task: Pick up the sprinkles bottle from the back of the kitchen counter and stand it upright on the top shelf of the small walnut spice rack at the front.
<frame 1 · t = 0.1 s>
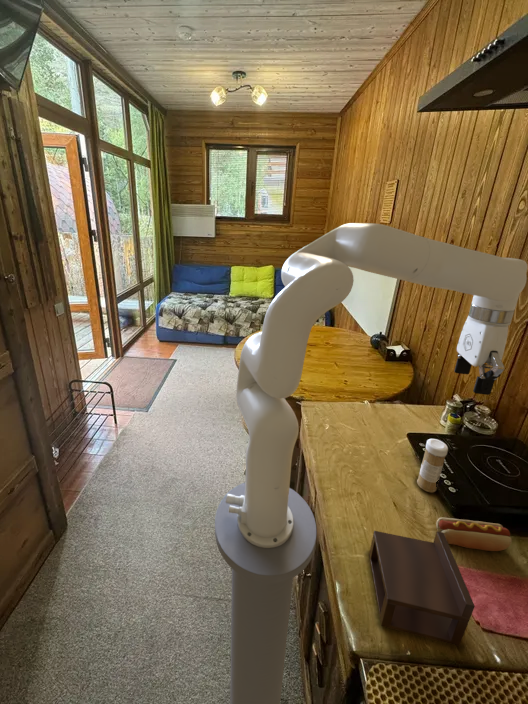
hand: (470, 382, 73), 30 cm above the kitchen counter, tool pointing down, fingers open, 9 cm apart
sprinkles bottle: (426, 486, 81), on the kitchen counter
spice rack: (408, 595, 57), on the kitchen counter
food: (469, 541, 67), on the kitchen counter
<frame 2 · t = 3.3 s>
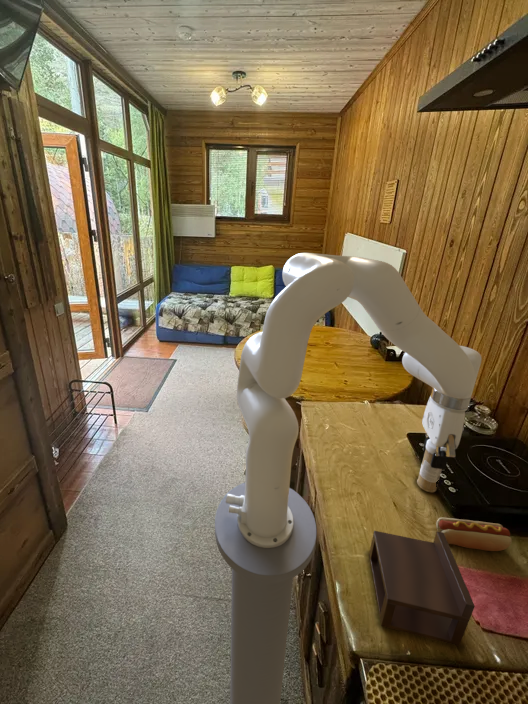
hand: (433, 459, 78), 9 cm above the kitchen counter, tool pointing down, fingers closed on sprinkles bottle, 4 cm apart
sprinkles bottle: (426, 486, 81), on the kitchen counter, touching gripper
everything else where it was.
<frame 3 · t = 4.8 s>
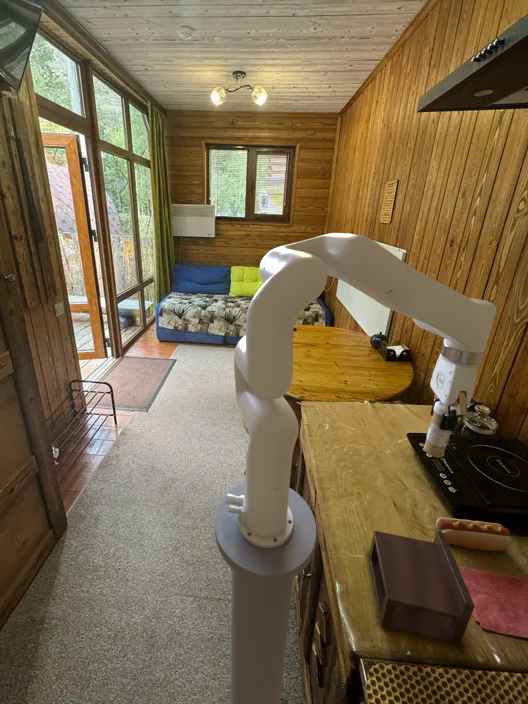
hand: (441, 422, 74), 20 cm above the kitchen counter, tool pointing down, fingers closed on sprinkles bottle, 4 cm apart
sprinkles bottle: (433, 452, 77), point 11 cm above the kitchen counter, touching gripper
everything else where it was.
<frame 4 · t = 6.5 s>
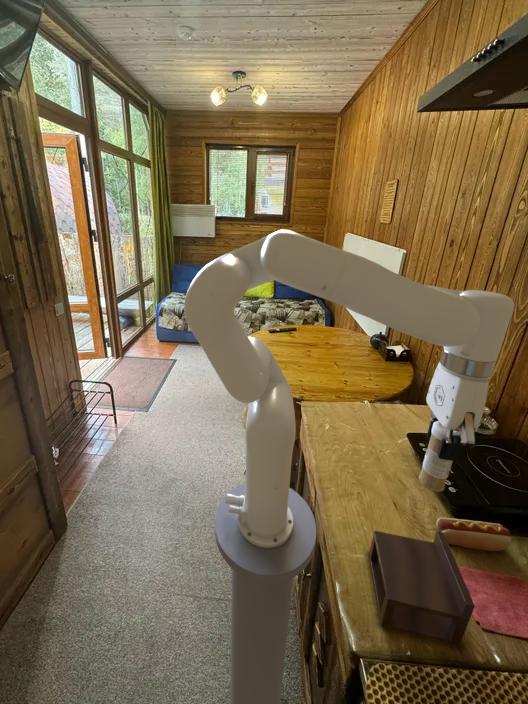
hand: (441, 447, 59), 25 cm above the kitchen counter, tool pointing down, fingers closed on sprinkles bottle, 4 cm apart
sprinkles bottle: (430, 484, 61), point 16 cm above the kitchen counter, touching gripper
everything else where it was.
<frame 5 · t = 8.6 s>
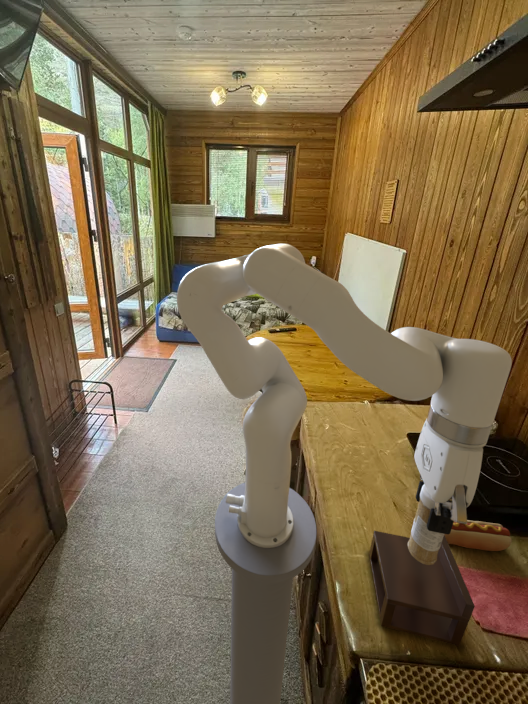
hand: (431, 514, 51), 20 cm above the kitchen counter, tool pointing down, fingers closed on sprinkles bottle, 4 cm apart
sprinkles bottle: (421, 553, 53), point 11 cm above the kitchen counter, touching gripper
everything else where it was.
when the fingers open (16 cm above the kitchen counter, at t = 10.0 s): sprinkles bottle stays where it is, resting on spice rack.
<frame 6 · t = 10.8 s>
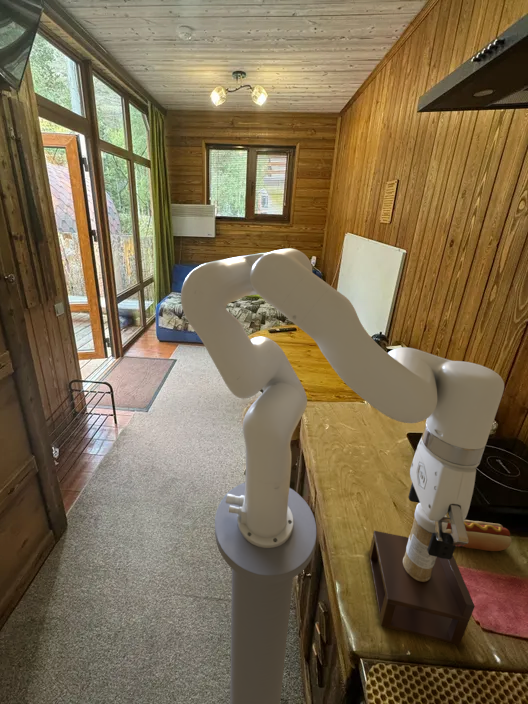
hand: (427, 526, 52), 17 cm above the kitchen counter, tool pointing down, fingers open, 9 cm apart
sprinkles bottle: (416, 569, 55), point 7 cm above the kitchen counter, touching spice rack
everything else where it was.
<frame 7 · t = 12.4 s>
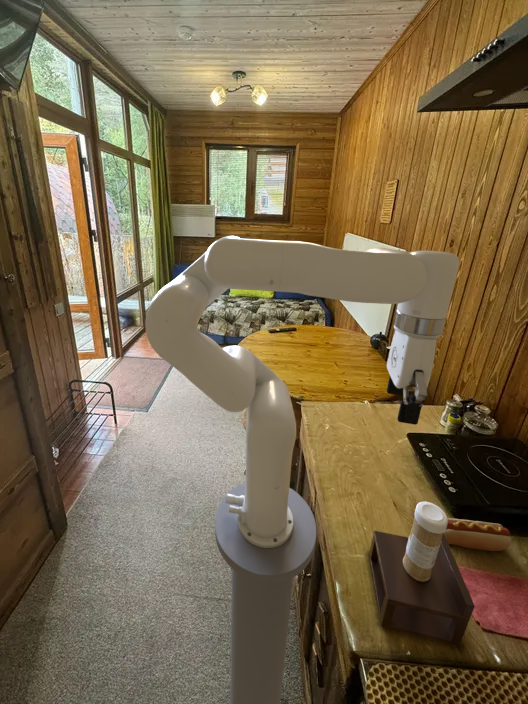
hand: (400, 407, 59), 32 cm above the kitchen counter, tool pointing down, fingers open, 9 cm apart
nothing on the kitchen counter moved.
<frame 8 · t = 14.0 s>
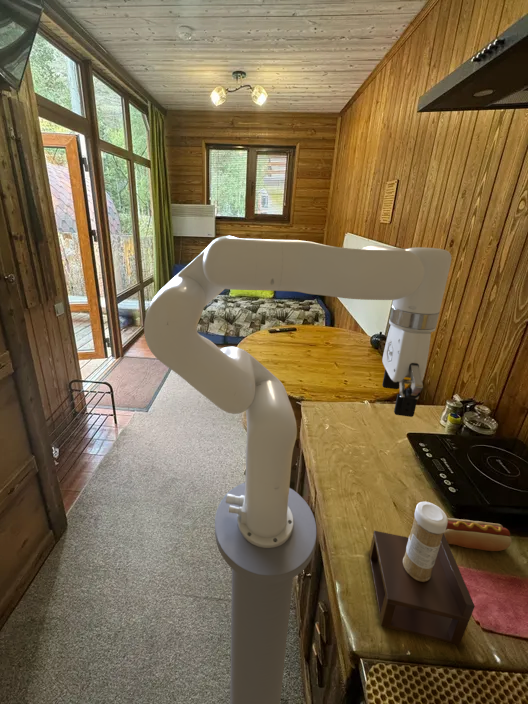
hand: (396, 400, 61), 32 cm above the kitchen counter, tool pointing down, fingers open, 9 cm apart
nothing on the kitchen counter moved.
at the end: sprinkles bottle inside the target area on the spice rack (0.0 cm from its centre), point 6.8 cm above the spice rack's base; sprinkles bottle tilted 0°; the gripper is holding nothing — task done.
